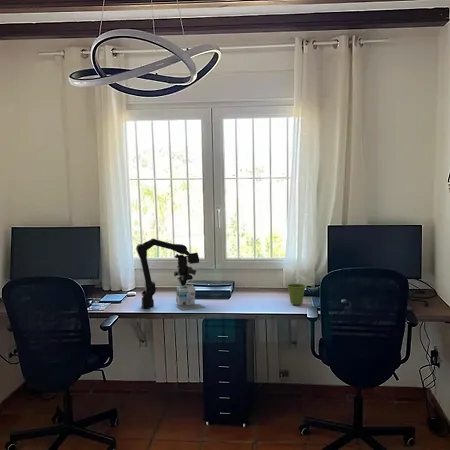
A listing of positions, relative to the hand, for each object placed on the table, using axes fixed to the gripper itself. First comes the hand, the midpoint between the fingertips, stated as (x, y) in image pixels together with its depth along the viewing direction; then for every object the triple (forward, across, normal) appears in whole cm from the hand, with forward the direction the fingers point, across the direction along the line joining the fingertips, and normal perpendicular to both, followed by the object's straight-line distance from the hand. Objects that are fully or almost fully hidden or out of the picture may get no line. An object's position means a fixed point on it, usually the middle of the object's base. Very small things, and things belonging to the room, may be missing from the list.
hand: (183, 288), depth 327 cm
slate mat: (+9, -13, 0) cm, 16 cm away
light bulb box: (+9, -3, 0) cm, 9 cm away
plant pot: (+10, -36, -60) cm, 71 cm away
